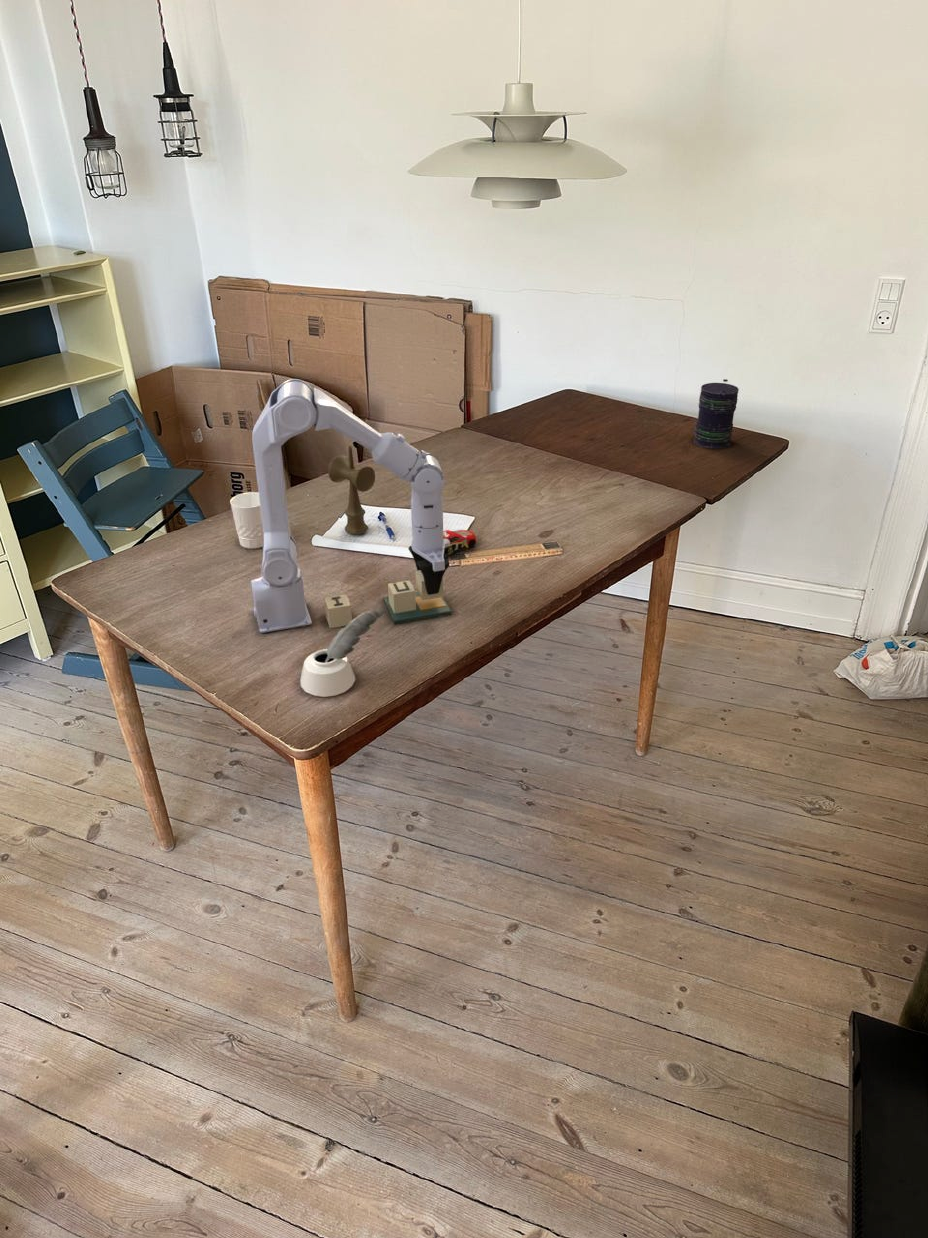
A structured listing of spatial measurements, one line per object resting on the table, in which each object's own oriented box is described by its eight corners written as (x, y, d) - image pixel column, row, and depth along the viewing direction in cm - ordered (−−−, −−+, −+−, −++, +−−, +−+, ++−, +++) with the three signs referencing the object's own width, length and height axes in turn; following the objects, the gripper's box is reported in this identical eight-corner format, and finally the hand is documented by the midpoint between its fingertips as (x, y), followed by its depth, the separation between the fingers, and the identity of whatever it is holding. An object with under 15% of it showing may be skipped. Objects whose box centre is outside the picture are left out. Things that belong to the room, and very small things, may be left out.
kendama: (352, 520, 201) (345, 436, 190) (381, 533, 195) (375, 447, 185) (332, 529, 197) (324, 443, 187) (360, 542, 192) (354, 455, 181)
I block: (330, 628, 162) (327, 608, 160) (325, 617, 165) (323, 597, 163) (352, 624, 163) (350, 604, 161) (347, 613, 167) (346, 593, 164)
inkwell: (289, 681, 148) (282, 631, 143) (371, 639, 159) (368, 591, 154) (322, 705, 142) (317, 653, 137) (405, 659, 153) (403, 610, 148)
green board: (394, 624, 163) (394, 620, 163) (383, 600, 170) (383, 596, 170) (451, 614, 166) (451, 610, 165) (437, 591, 173) (437, 587, 173)
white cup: (229, 546, 190) (222, 504, 185) (249, 531, 196) (243, 490, 191) (261, 552, 188) (255, 509, 183) (280, 536, 194) (275, 494, 189)
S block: (422, 600, 165) (421, 580, 163) (416, 590, 169) (415, 570, 166) (443, 597, 166) (443, 576, 164) (437, 586, 170) (436, 566, 167)
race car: (466, 536, 194) (466, 519, 192) (481, 545, 190) (481, 528, 188) (416, 553, 187) (416, 536, 185) (431, 562, 183) (430, 545, 181)
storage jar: (688, 436, 246) (697, 371, 236) (722, 434, 246) (732, 370, 237) (700, 449, 237) (710, 383, 228) (736, 447, 238) (746, 381, 228)
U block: (394, 613, 165) (393, 593, 162) (389, 602, 168) (387, 582, 166) (416, 610, 166) (415, 590, 164) (410, 599, 169) (409, 579, 167)
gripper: (460, 535, 155) (461, 602, 162) (437, 503, 166) (438, 566, 174) (421, 541, 153) (424, 608, 160) (400, 508, 165) (404, 572, 172)
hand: (429, 587), depth 167 cm, fingers closed on S block, 4 cm apart
